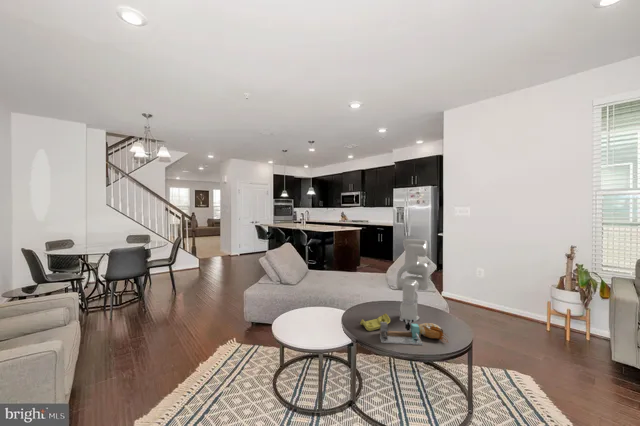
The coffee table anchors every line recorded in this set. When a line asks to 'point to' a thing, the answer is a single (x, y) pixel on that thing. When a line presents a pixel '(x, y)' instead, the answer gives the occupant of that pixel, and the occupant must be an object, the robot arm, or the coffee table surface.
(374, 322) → the plastic component
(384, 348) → the coffee table surface
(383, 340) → the bolt plate
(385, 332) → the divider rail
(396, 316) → the coffee table surface
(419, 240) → the robot arm
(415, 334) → the block
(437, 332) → the nautilus
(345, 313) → the coffee table surface
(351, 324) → the coffee table surface
